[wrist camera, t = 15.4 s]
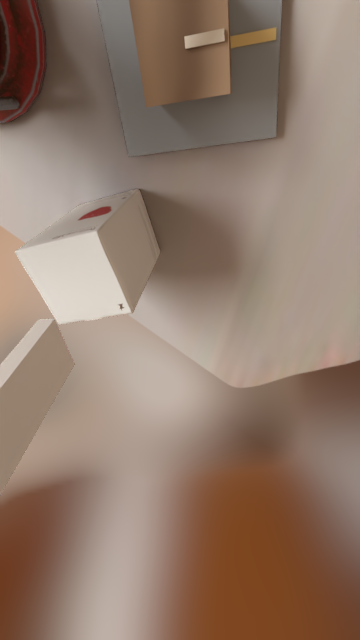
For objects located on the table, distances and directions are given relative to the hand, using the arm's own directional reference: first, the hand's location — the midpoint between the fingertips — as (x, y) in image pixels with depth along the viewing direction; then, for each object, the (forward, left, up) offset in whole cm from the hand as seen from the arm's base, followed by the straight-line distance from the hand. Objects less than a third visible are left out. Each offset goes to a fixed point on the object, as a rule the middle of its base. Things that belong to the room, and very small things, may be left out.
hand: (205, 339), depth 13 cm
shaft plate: (-2, +12, -29) cm, 31 cm away
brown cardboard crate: (-2, +12, -28) cm, 30 cm away
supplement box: (-14, -4, -29) cm, 32 cm away
